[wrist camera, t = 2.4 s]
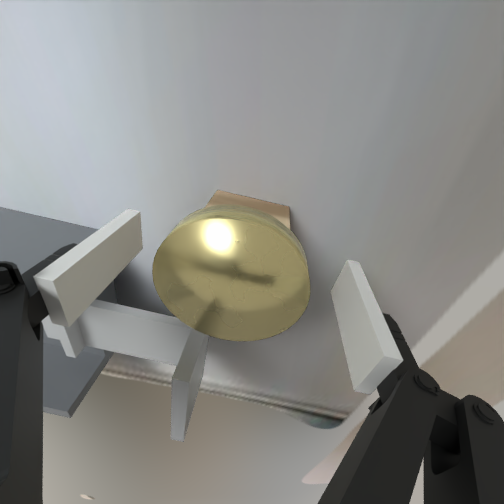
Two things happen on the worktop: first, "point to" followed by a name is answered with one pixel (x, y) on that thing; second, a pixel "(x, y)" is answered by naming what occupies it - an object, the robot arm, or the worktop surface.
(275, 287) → the disc
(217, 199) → the pedestal
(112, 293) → the box
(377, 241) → the worktop surface
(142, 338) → the grey i-beam
